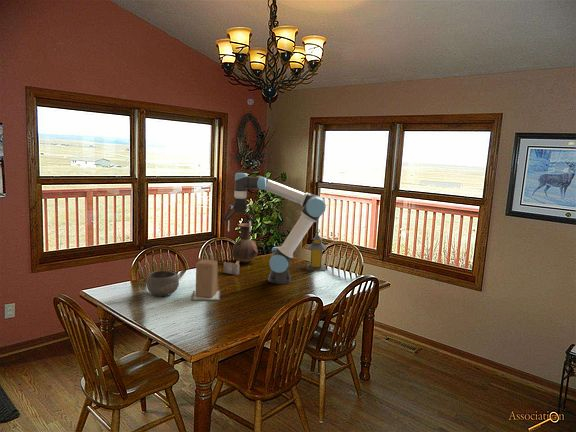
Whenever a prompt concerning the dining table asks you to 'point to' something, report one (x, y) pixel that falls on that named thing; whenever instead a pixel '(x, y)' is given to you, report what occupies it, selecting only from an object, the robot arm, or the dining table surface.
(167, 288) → the bowl
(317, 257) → the lantern
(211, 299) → the mat
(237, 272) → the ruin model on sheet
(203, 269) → the wooden block
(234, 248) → the vase
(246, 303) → the dining table surface
